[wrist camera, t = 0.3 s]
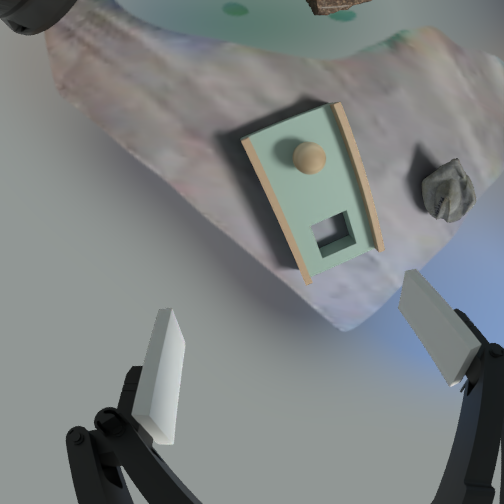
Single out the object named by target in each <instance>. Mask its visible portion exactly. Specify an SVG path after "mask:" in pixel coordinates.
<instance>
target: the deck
mask: <svg viewBox="0 0 504 504" xmlns="http://www.w3.org/2000/svg"><path fill="white" fill-rule="evenodd" d="M240 140H241V142H242V144H243V146H244V148H245V150H246V153H247V155H248V157H249V159H250V161H251V163H252V165H253V167H254V169H255V171H256V174H257V176H258V178H259V180H260V182H261V184H262V186H263V189H264V191H265V193H266V195H267V197H268V200H269V202H270V204H271V206H272V208H273V211H274V213H275V215H276V217H277V219H278V222H279V224H280V226H281V228H282V231H283V233H284V235H285V237H286V240H287V242H288V244H289V246H290V249H291V251H292V253H293V256H294V258H295V260H296V263H297V265H298V267H299V270H300V272H301V274H302V277H303V279H304V281H305V284H306V285H309V284H311V283H312V280H311V278H310V277H312V276H314V275H317V274H319V273H321V272H324V271H326V270H328V269H330V268H333V267H335V266H337V265H339V264H342V263H344V262H346V261H348V260H350V259H353V258H355V257H357V256H359V255H361V254H363V253H366V252H368V251H370V250H372V249H374V248H375V249H376V250H377V251H378V252H382V251H384V250H385V248H384V243H383V239H382V234H381V230H380V225H379V221H378V217H377V213H376V209H375V205H374V201H373V198H372V194H371V190H370V187H369V183H368V180H367V176H366V173H365V170H364V166H363V163H362V160H361V157H360V154H359V151H358V148H357V145H356V142H355V139H354V136H353V133H352V131H351V128H350V125H349V122H348V120H347V117H346V114H345V112H344V109H343V107H342V104H341V102H335V103H327V104H324V105H322V106H319V107H316V108H313V109H310V110H308V111H305V112H302V113H300V114H297V115H295V116H292V117H289V118H287V119H284V120H282V121H279V122H277V123H274V124H272V125H270V126H267V127H265V128H263V129H260V130H258V131H256V132H253V133H251V134H249V135H246V136H244V137H242V138H240ZM303 142H314V143H317V144H318V145H320V146H321V147H322V148H323V150H324V152H325V154H326V163H325V166H324V167H323V169H322V170H321V171H320V172H318V173H316V174H312V175H308V174H304V173H302V172H300V171H299V170H298V169H297V168H296V167H295V165H294V163H293V152H294V150H295V148H296V147H297V146H298V145H299V144H301V143H303ZM341 212H342V213H343V216H344V219H345V223H346V226H347V229H348V232H349V235H348V236H346V237H344V238H341V239H339V240H337V241H335V242H332V243H330V244H328V245H326V246H323V247H321V248H318V245H317V242H316V240H315V237H314V235H313V232H312V229H311V227H310V226H311V225H314V224H316V223H318V222H320V221H323V220H325V219H327V218H330V217H332V216H334V215H336V214H339V213H341Z"/></svg>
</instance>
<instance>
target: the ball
mask: <svg viewBox="0 0 504 504" xmlns="http://www.w3.org/2000/svg"><path fill="white" fill-rule="evenodd" d="M293 163H294V165H295V167H296V168H297V169H298V170H299V171H300V172H302V173H304V174H308V175H312V174H316V173H318V172H320V171H321V170H322V169H323V167H324V166H325V163H326V154H325V152H324V150H323V148H322V147H321V146H320V145H318V144H317V143H314V142H303V143H301V144H299V145H298V146H297V147H296V148H295V150H294V152H293Z"/></svg>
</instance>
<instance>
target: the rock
mask: <svg viewBox="0 0 504 504" xmlns="http://www.w3.org/2000/svg"><path fill="white" fill-rule="evenodd" d="M306 1H307V3H309V6H310V7H311V9H312V12H313V14H314V15H329V14H330V13H335V12H337V11H339V10H347V9H349V8H350V7H351V6H353V5H356V4H361V3H363V2H369V1H371V0H306Z"/></svg>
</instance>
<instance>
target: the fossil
mask: <svg viewBox="0 0 504 504" xmlns="http://www.w3.org/2000/svg"><path fill="white" fill-rule="evenodd" d="M422 195H423V200H424V205H425V207H426V209H427V211H428V212H429V214H430V215H432V216H433V217H434V218H436V219H440V218H441V219H444V220H445V221H446V222H449V223H451V222H455V221H458V220H460V219H461V218H462V217H463V216H464V215H465V214H466V213H467V212H468V211H469V210H470V209H471V208H473V206H474V205H475V203H476V195H475V192H474V187H473V184H472V182H471V180H470V178H469V176H468V175H466V173H465V171H464V170H463V168H462V166H461V164H460V161H459V159H458V158H456V159H452V160H451V161H450V162H448V163H446V164H444V165H442V166H440V167H439V168H438V170H436V171H435V172H433V173H432V174H431V175H429V176H428V177H426V178H425V179H424V180H423V181H422Z"/></svg>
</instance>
